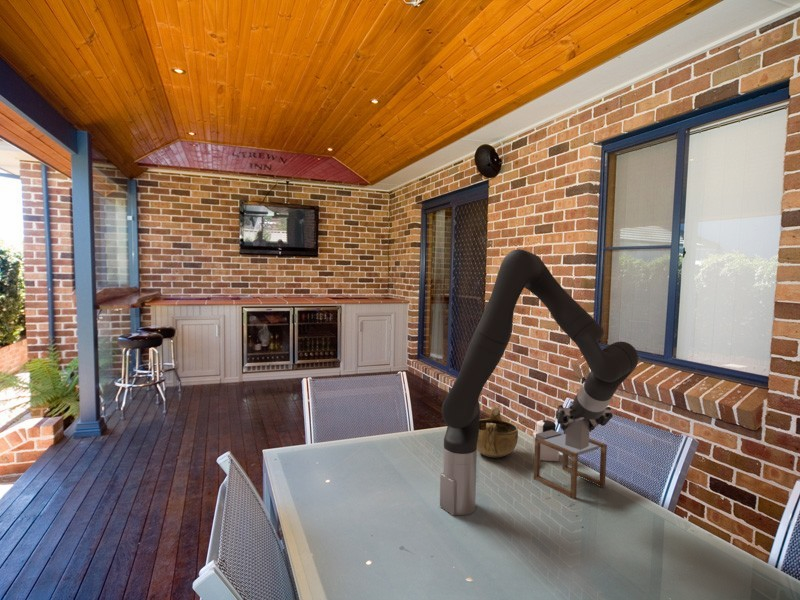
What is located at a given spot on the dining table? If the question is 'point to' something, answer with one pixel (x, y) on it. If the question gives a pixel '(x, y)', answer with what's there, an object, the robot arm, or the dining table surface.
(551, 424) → the container
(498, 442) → the ceramic bowl
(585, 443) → the stone
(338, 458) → the dining table surface
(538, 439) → the frame
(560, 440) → the trapdoor
